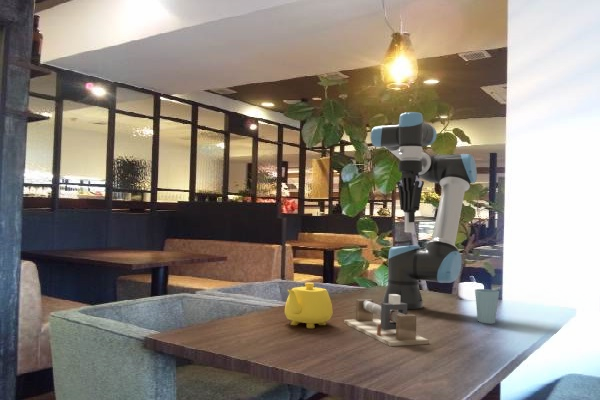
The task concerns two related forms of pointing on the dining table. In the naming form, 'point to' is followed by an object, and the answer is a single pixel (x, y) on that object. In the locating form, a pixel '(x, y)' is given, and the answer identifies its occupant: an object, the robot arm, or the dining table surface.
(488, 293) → the cup
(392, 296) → the grey sliding frame
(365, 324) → the pipe rig
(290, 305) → the teapot
